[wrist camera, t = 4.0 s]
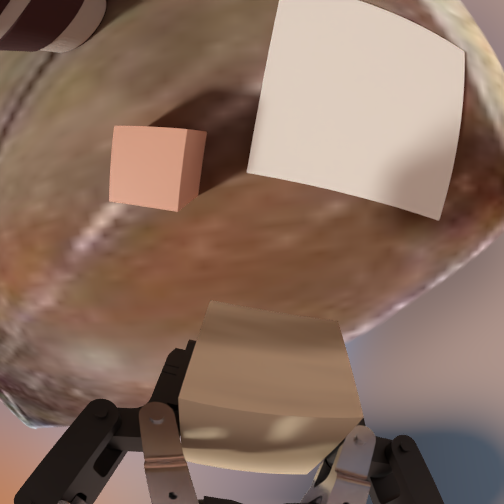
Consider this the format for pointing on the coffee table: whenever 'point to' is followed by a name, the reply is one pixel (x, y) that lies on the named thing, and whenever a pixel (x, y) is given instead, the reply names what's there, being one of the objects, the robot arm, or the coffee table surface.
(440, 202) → the base plate
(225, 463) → the maple block
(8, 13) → the coffee cup
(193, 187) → the terracotta block
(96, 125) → the coffee table surface
